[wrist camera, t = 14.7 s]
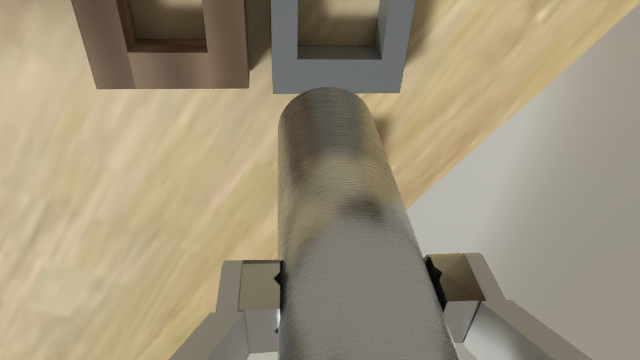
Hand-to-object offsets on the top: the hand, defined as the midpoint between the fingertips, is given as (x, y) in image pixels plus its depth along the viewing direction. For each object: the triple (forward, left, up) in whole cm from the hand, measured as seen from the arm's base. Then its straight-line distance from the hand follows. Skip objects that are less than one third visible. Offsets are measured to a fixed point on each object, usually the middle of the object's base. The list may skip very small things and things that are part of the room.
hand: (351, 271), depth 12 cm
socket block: (-10, 0, -29) cm, 30 cm away
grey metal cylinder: (0, 0, -8) cm, 8 cm away
